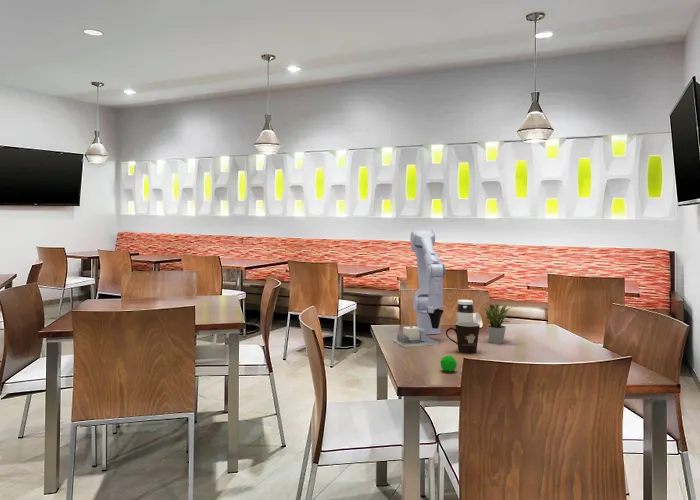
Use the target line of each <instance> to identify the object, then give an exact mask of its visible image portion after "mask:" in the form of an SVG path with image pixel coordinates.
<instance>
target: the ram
mask: <svg viewBox="0 0 700 500" xmlns="http://www.w3.org/2000/svg"><path fill="white" fill-rule="evenodd" d="M418 328H420V327H418ZM426 337H427V334H426V330H424V329H422V328H420V339H421V341H426Z"/></svg>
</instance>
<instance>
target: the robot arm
mask: <svg viewBox="0 0 700 500" xmlns="http://www.w3.org/2000/svg"><path fill="white" fill-rule="evenodd" d="M410 232H411V233H410V248H411V251H412V252H414V253H415V258H416V266H417V278H418V281H417V282H418V290H416V291H415V292H414V294H413V295H412V297H413V299H412V306H413V311H415V312H416V327H420V328H422V329H424V330H426V335H436V334H437V335H438V334H439V335H440V334H442V332H441V318H442V316H443V314H444V312H445V311H444V309H443V308H444V304H443V303H444V278H445V276H446V266H445V263H443V262H442V261H441V259H440V258H439V257H440V256H439V254H438V253H437V252H436V251H435V249H434V245H435V243H436V233H435V231H434V230H432V229H431V230H414V229H413V230H412V231H410Z"/></svg>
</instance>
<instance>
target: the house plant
mask: <svg viewBox="0 0 700 500" xmlns="http://www.w3.org/2000/svg"><path fill="white" fill-rule="evenodd" d="M508 305H509V303H507V304H505V305H503V306H502V307H501V309H500V312H499V307H498V305H497V304H496V302H494V303H493V309H492V310H491V308H489V306H487V305H486V304H484V303H483V306H484V307H483V306H482V308H483V309H484V310H485V314H486V315H482V317H484V318H486V319H485V321H486V322H488V323H489V324H487V325H486V326H487V327H486V329H487V336H488V340H489V341H488V342H489V343H491V344H496V345H500V344H503V343H504V340H505V339H504V338H505V333H506V328H507V327H506V325H502V324H503V323H506V322H508V323H510V321H509V320H511V318H509V317H508V318H507V316H508V314H507V312H508V311H509V310H510V309H511V308H517V307H518V306H516V305H513V306H511V307H509V308H508V307H507V306H508ZM485 307H486V308H485ZM487 319H488V320H489V321H488V320H487ZM483 321H484V319H483V320H482V322H483Z"/></svg>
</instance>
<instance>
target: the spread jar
mask: <svg viewBox="0 0 700 500" xmlns="http://www.w3.org/2000/svg"><path fill="white" fill-rule="evenodd" d="M458 322H473V323H478V324H480V328H479V329H481V328H483V321H482V316H481V315H480V313H479V312H475V307H474V300H471V299H458V300H457V306H456V323H458Z"/></svg>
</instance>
